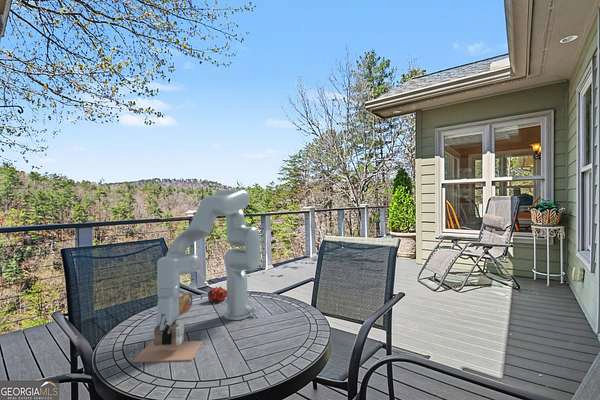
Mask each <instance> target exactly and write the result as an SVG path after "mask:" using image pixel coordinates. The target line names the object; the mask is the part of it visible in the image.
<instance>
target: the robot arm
mask: <svg viewBox="0 0 600 400" xmlns="http://www.w3.org/2000/svg"><path fill="white" fill-rule="evenodd" d="M250 199H251V198H250V194H249V193H248V192H247V191H246V190H245V189H221V190H217V191H216V192H215V193H214V195H207V196H204V197H203V198H202V199H201V201H200V203H199V205H198V207H197V209H196V210H195V211H196V212H195V214H194V216H193V218H192V220H191V222H190V224H189V226H188V227H187V228H186V229H184V230H183V231H182V232H181V233H179V235H178V236H177V237H176V238H175V239H174V240H173V241H172V242H171V244H170V247H169V249H168V250H167V252H166V255H165V256H163V257H160V258H159V259H158V260H157V264H156V265H157V266H156V270H157V272H156V273H157V276H156V278H157V283H156V284H157V285H156V286H157V298H158V299H157V306H156V323H155V324H156V327H157V326H159V325H160V331H162V332H161V334H162V344H163V345H170V344H171V343H172V333H170V331H171V324H177V319H178V317H179V298H178V296H180V295H181V290H180V289H181V287H180V285H181V284H180V283H181V279H180V277H181V275H190V274H193V273H196V272H197V271H198V270H199V269H200V267H201V264H202V263H201V262H202V261H201V258H200V257H199V256H198V255H197V254H193V253H188V252H186V251H187V249H188V248H189V247H190V246H191V245H192V244H193V243H195V242H197V241H200V240H202V239H204V238H206V237H208V236H209V235H210V234H211V231H212V228H213V227H214V224H215V221H216V220H217V217H219V216H220V217H225V218H226V219H225V220H226V221H225V222H226V240H227V243H228V245H230V246H232V247H233V246H234V247H242V248H231V249H228V250H227V251H226V252H225V253H224V258H223V262H224V267H225V268H224V269H225V272H226V273H225V274H226V290H227V296H226V311H225V312H224V313H223V317H224V318H225V319H226V320H228V321H229V320H230V321H241V320H245V319H247V318H249V317H250V316H251V315H252V313H257V312H258V307H256V306H250V305H249V303H248V276H247V272H246V271H249V272H254V271H257V269H259V268H260V264H261V259H262V258H261V235H260V232H259V230H258V229H257V227H255V226H248V225H246V221H245V219H246V218H245V213H244V211H243V210H244V209H246V208H247V206H248V205H249V204H250ZM243 247H244V248H243ZM166 326H168V329H167V328H166Z"/></svg>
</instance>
